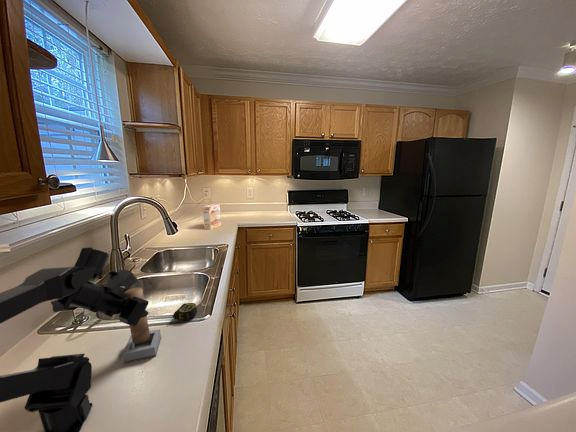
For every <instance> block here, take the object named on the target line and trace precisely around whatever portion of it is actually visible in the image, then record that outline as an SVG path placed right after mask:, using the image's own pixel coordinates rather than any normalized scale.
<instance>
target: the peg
mask: <svg viewBox="0 0 576 432" xmlns="http://www.w3.org/2000/svg"><path fill="white" fill-rule="evenodd" d="M124 293H127V295H126V297H125V298H124V299H125V300H128V299H129V298H132V297H134V296H135V297H138V298H141V299H144V300H145V298H144V291H143V288H142V287H134V288H129V289H128V290H127V291H125V292H124ZM146 309H147V308H146ZM146 309H145V310H146ZM146 311H147V310H146ZM149 328H150V327H149V321H148V315H147V316H146V317H142V318H140V320H139V322H138V324H137V325H135V326H131V325H129V331H130V336H132V342H133V343H134V344H139V343H142V342H145V341H146V340H148V339H149V337H150V333H149V331H150V329H149Z"/></svg>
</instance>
